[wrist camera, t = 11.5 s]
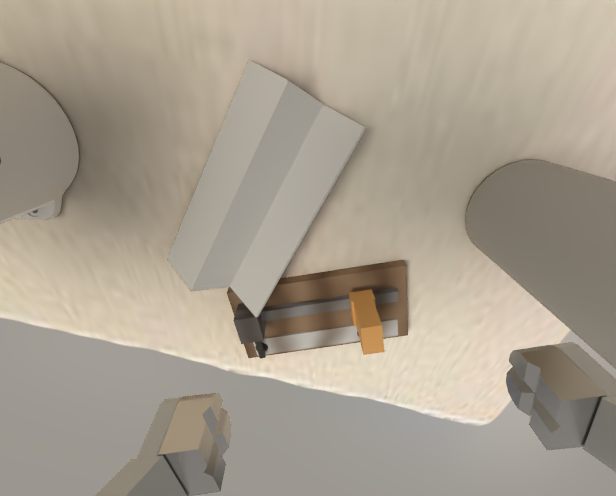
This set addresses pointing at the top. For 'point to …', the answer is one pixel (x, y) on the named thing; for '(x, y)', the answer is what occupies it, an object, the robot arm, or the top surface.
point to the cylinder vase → (554, 242)
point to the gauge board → (322, 309)
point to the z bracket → (261, 187)
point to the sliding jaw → (367, 321)
